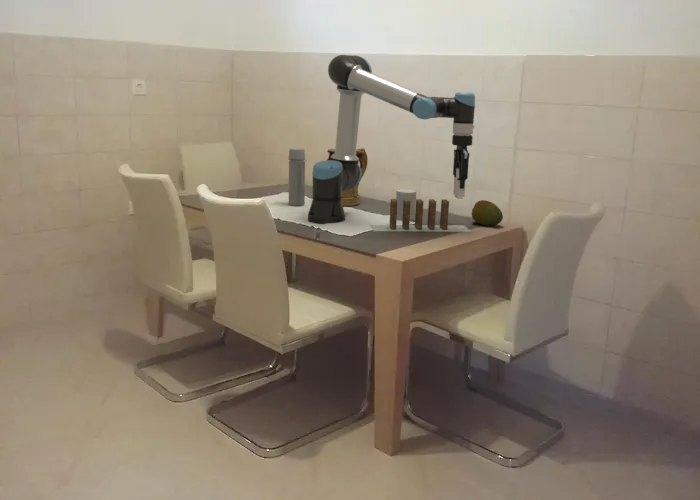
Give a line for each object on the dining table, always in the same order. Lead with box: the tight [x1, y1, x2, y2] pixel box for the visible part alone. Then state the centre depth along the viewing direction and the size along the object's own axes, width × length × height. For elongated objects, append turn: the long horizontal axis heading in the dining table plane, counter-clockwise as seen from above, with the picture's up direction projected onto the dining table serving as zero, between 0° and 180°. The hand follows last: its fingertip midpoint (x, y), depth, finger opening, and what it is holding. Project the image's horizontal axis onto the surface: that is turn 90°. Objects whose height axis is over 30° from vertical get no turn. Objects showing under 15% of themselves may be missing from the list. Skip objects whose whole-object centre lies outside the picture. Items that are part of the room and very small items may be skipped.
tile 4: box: [426, 198, 437, 230], centre depth 263 cm, size 2×5×11 cm, turn 6°
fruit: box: [471, 199, 504, 227], centre depth 273 cm, size 12×13×10 cm
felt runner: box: [369, 224, 472, 233], centre depth 264 cm, size 38×11×1 cm, turn 96°
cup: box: [395, 188, 418, 222], centre depth 279 cm, size 8×8×12 cm
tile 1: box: [389, 198, 398, 230], centre depth 261 cm, size 2×5×11 cm, turn 6°
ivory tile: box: [454, 168, 464, 199], centre depth 260 cm, size 2×5×11 cm, turn 6°
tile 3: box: [414, 198, 424, 230], centre depth 262 cm, size 2×5×11 cm, turn 6°
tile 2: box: [401, 199, 410, 230], centre depth 262 cm, size 2×5×11 cm, turn 6°
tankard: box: [326, 147, 369, 207], centre depth 310 cm, size 18×24×25 cm
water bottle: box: [288, 147, 307, 207], centre depth 301 cm, size 9×8×25 cm
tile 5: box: [439, 199, 450, 230], centre depth 263 cm, size 2×5×11 cm, turn 6°
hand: (458, 195), depth 262 cm, fingers closed on ivory tile, 5 cm apart
